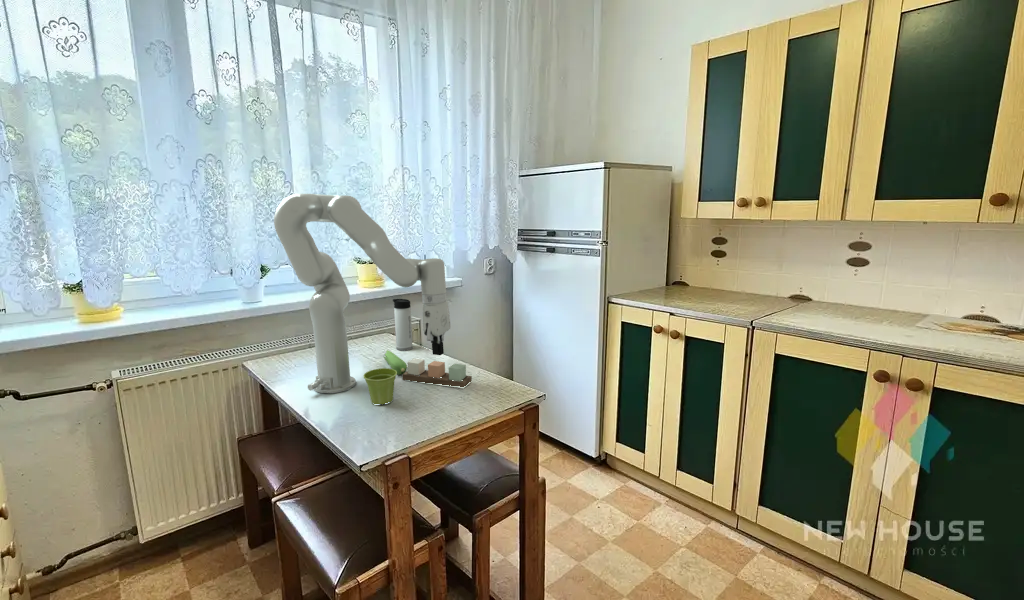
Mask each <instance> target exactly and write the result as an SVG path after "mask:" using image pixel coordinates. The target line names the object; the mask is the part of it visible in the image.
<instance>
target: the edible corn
mask: <svg viewBox="0 0 1024 600" xmlns="http://www.w3.org/2000/svg"><path fill="white" fill-rule="evenodd" d="M384 355H385V356H384ZM384 355H383V356H382V357H383V358H384V360H385V361H386V362H387V364H388V365H389V367H390V369H394V370H396V371H397V375H396V376H399V375H400V376H402V374H404V373H405V372H407V371H408V364H407V363H406V362H405V361H404V360H403V359H402V358H401V357H399V356H398V355H396V354H395V353H394V352H392V351H390V350H388V349H387V350H386V353H384Z"/></svg>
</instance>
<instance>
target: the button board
mask: <svg viewBox="0 0 1024 600" xmlns="http://www.w3.org/2000/svg"><path fill="white" fill-rule="evenodd" d="M401 376H402V381H405V380H410V381H409V382H412V381H417V382H416V383H419V382H425V383H424V384H426V383H433V384H442V385H449V386H450V385H451V386H460V387H464V386H466V385H467V384H468V383H469V382H471V381H472V375H466V377H465V378H464V379H463V381H455V380H454V381H452V380H449V372H445V374H444V375H443V376H442V378H433V377H428V369H425V371H424V372H423V373H421V374H420V376H419V375H413V374H408V370H406V372H405V373H404V374H401ZM472 382H473V381H472ZM472 382H471V383H472ZM433 384H432V385H433Z"/></svg>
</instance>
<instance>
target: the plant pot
mask: <svg viewBox="0 0 1024 600" xmlns="http://www.w3.org/2000/svg"><path fill="white" fill-rule="evenodd" d="M397 376H398V375H397V371H396V370H394V369H392V368H389V367H388V368H387V367H383V368H375V369H371V370H369V371H366V372H364V373H363V376H362V377H363V379H365V382H366V385H367V389H368V393H369V397H370V402H371V404H372V403H374V404H382V405H383V404H385V403H388V402H391V401H392V400H393V401H394V391H395V380H396V377H397ZM393 401H392V402H393ZM392 402H391V403H392ZM374 404H373V405H374Z"/></svg>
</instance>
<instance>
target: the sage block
mask: <svg viewBox="0 0 1024 600" xmlns="http://www.w3.org/2000/svg"><path fill="white" fill-rule="evenodd" d="M448 373H449V380H454V381H455V380H456V381H459V382H462V381H461V380H463V379H464V378H465V377H466V376H467V366H466V364H463V363H462V364H461V363H453V364H452V365H450V366H449V367H448Z"/></svg>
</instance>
